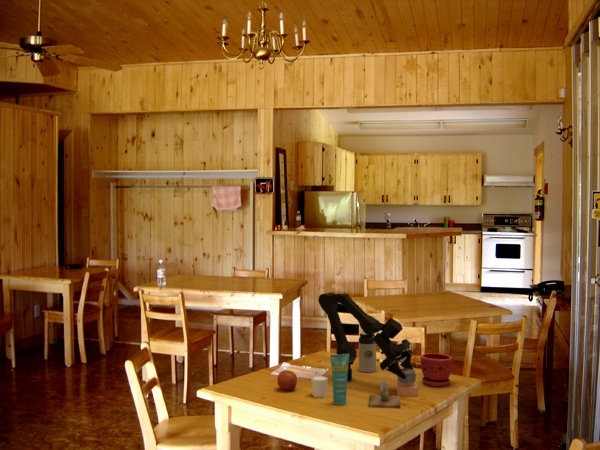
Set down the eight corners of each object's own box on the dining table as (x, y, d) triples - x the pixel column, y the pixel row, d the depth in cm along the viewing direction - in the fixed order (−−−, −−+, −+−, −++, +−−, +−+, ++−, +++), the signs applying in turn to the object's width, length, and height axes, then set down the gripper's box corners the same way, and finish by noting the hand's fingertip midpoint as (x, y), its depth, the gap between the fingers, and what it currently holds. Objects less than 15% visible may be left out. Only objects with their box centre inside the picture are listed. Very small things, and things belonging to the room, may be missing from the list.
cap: (402, 383, 240) (402, 373, 240) (395, 379, 247) (395, 369, 247) (417, 382, 242) (417, 371, 242) (410, 377, 249) (410, 367, 248)
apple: (283, 385, 256) (283, 367, 256) (301, 388, 252) (301, 369, 252) (274, 390, 249) (274, 371, 249) (292, 393, 245) (291, 374, 245)
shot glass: (330, 393, 245) (330, 376, 245) (325, 398, 238) (325, 381, 238) (314, 392, 247) (314, 375, 247) (308, 397, 241) (308, 379, 240)
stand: (397, 395, 241) (397, 387, 241) (396, 389, 249) (396, 381, 249) (417, 396, 240) (417, 387, 240) (416, 390, 248) (416, 381, 248)
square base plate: (368, 406, 228) (368, 386, 228) (369, 397, 240) (369, 377, 240) (400, 408, 226) (400, 387, 226) (399, 398, 238) (399, 378, 238)
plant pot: (452, 388, 250) (452, 360, 249) (420, 386, 253) (420, 358, 252) (452, 380, 262) (452, 352, 262) (421, 378, 265) (421, 351, 265)
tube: (332, 406, 229) (332, 356, 229) (329, 402, 234) (328, 353, 234) (351, 404, 231) (350, 354, 231) (347, 400, 236) (347, 351, 235)
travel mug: (359, 367, 283) (359, 330, 283) (376, 368, 282) (376, 330, 281) (358, 372, 276) (357, 333, 275) (375, 373, 274) (375, 334, 273)
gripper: (386, 337, 239) (410, 369, 233) (409, 330, 254) (433, 360, 247) (369, 354, 244) (393, 386, 238) (393, 345, 259) (415, 375, 252)
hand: (409, 376), depth 244 cm, fingers closed on cap, 7 cm apart
